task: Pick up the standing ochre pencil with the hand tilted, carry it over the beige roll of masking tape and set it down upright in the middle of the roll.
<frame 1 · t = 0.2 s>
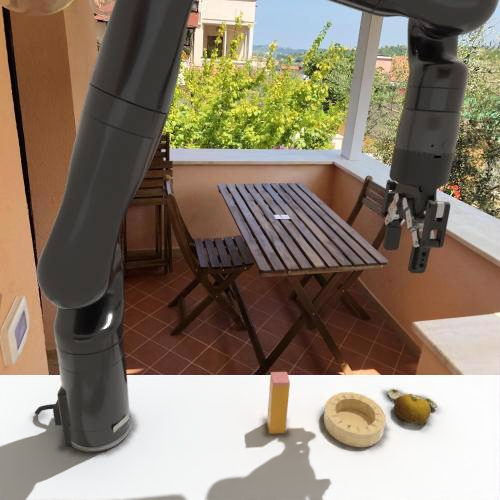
hand: (402, 260, 62), 29 cm above the table, tool pointing down, fingers open, 8 cm apart
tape: (353, 424, 71), on the table
pencil: (275, 427, 70), on the table
fruit: (413, 409, 75), on the table
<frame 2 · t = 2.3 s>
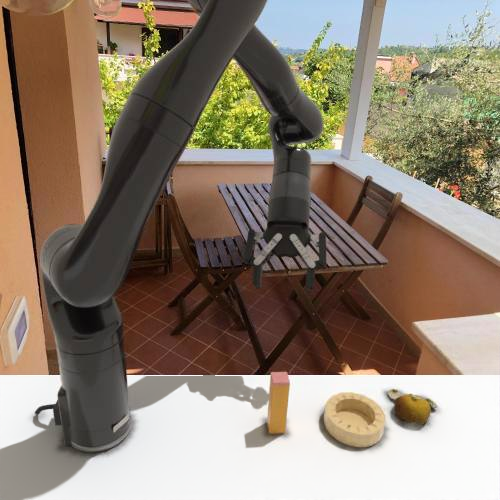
hand: (282, 289, 73), 19 cm above the table, tool tilted 40°, fingers open, 8 cm apart
nothing on the table moved.
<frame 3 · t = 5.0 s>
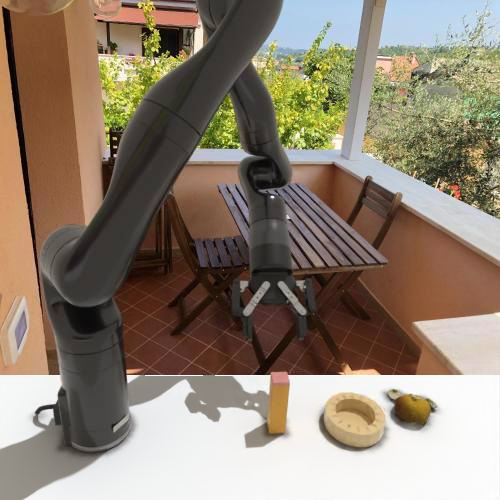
hand: (275, 339, 70), 13 cm above the table, tool tilted 45°, fingers open, 8 cm apart
nothing on the table moved.
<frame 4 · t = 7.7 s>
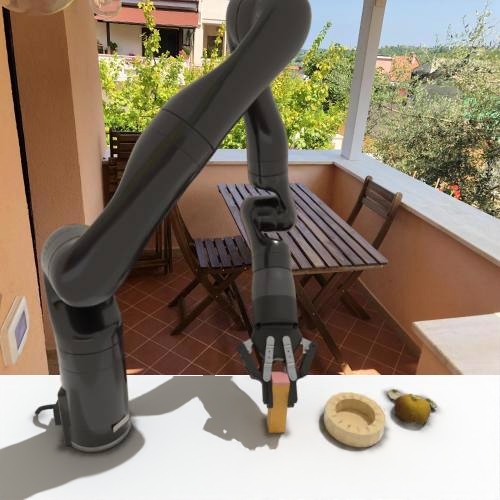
hand: (280, 407, 66), 6 cm above the table, tool tilted 45°, fingers closed on pencil, 2 cm apart
pencil: (275, 426, 70), on the table, touching gripper
everything else where it was.
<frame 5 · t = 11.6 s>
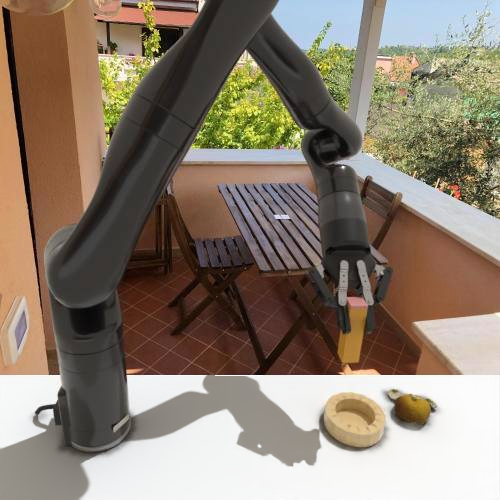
hand: (357, 332, 62), 19 cm above the table, tool tilted 45°, fingers closed on pencil, 2 cm apart
pencil: (347, 357, 66), point 13 cm above the table, touching gripper
everything else where it was.
when the fingers open (6 cm above the table, at t = 15.5 s): pencil stays where it is, resting on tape.
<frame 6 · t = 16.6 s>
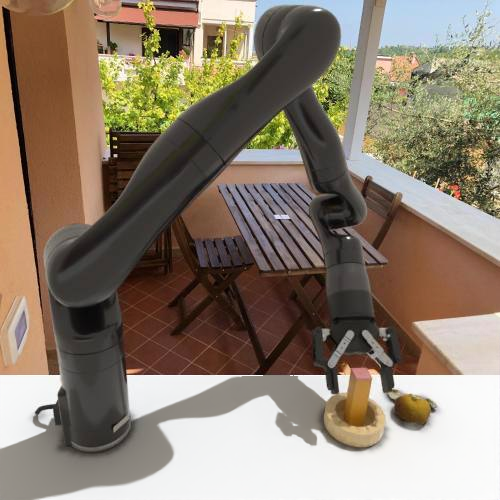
hand: (361, 393, 67), 7 cm above the table, tool tilted 45°, fingers open, 8 cm apart
pencil: (353, 422, 71), resting on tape
everything else where it was.
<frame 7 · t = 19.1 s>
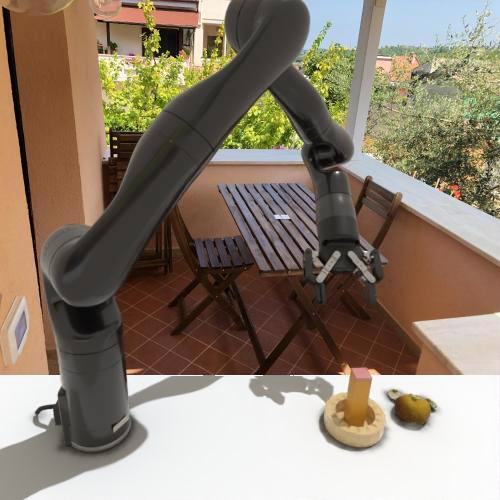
hand: (347, 305, 74), 17 cm above the table, tool tilted 45°, fingers open, 8 cm apart
nothing on the table moved.
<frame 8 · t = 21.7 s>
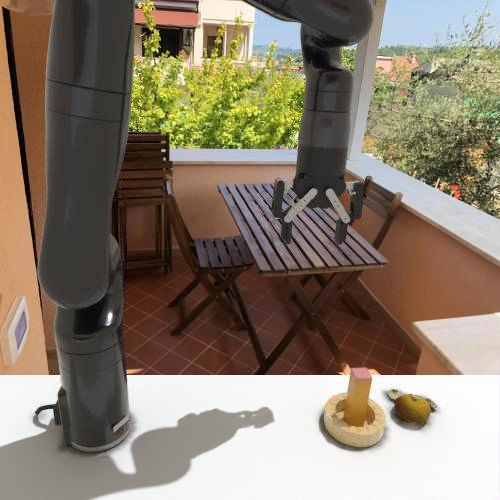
hand: (312, 242, 70), 28 cm above the table, tool pointing down, fingers open, 8 cm apart
nothing on the table moved.
at the end: pencil 0.2 cm off-centre in the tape, point 0.3 cm above the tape's base; pencil tilted 0°; the gripper is holding nothing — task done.
